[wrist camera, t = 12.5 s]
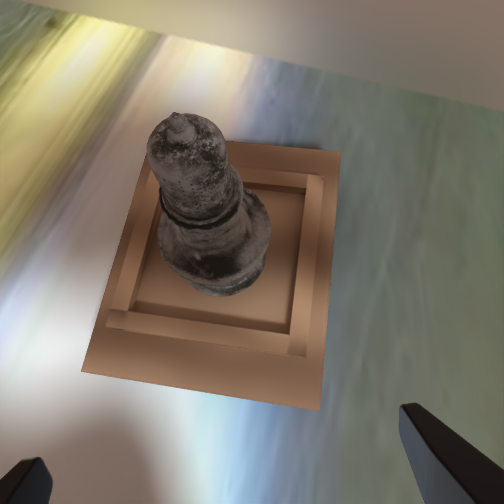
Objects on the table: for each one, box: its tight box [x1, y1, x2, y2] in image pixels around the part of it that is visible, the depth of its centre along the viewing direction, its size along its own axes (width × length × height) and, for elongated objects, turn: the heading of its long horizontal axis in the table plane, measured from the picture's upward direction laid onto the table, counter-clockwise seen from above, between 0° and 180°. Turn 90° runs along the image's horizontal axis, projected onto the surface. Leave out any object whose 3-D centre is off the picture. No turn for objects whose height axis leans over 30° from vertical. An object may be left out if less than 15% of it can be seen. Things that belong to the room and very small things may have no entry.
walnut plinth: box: [81, 141, 341, 411], centre depth 24 cm, size 16×13×4 cm
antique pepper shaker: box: [147, 112, 271, 297], centre depth 17 cm, size 6×6×12 cm
